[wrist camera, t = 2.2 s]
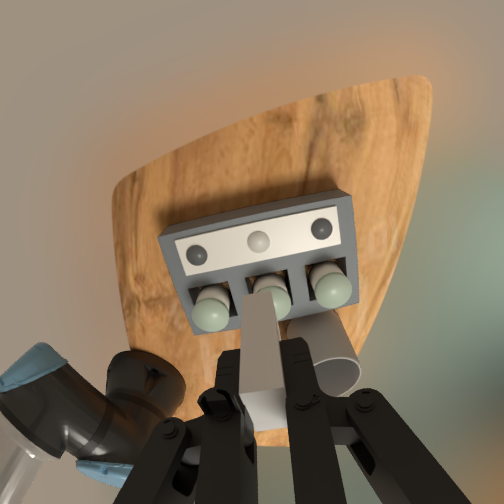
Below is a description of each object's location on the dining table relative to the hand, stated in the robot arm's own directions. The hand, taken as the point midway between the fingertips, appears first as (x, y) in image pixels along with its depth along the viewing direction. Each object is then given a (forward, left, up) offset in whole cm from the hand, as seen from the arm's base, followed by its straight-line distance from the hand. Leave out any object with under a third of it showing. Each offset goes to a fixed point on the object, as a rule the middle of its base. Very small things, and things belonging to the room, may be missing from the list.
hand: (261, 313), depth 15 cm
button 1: (+7, -8, -17) cm, 20 cm away
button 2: (-7, -8, -17) cm, 20 cm away
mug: (+4, -20, -21) cm, 29 cm away
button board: (0, -6, -20) cm, 21 cm away
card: (0, -2, -16) cm, 16 cm away
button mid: (0, -8, -17) cm, 19 cm away
